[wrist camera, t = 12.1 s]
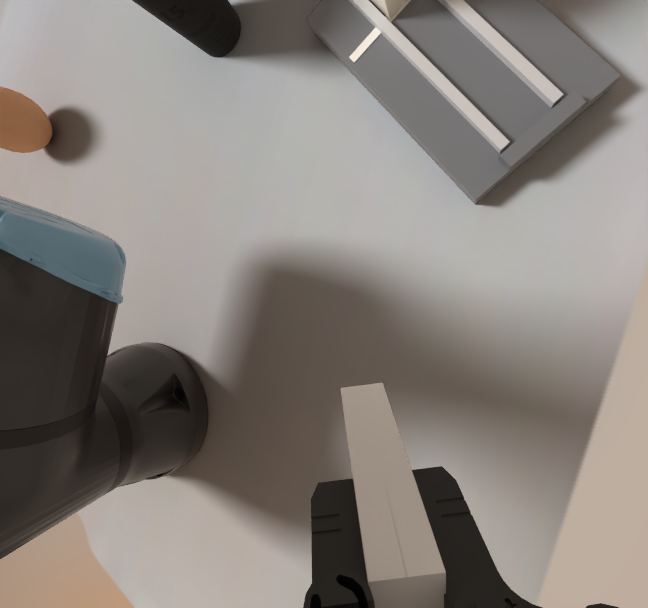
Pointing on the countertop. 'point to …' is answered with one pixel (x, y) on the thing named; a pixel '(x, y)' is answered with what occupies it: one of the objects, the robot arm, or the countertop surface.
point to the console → (468, 77)
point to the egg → (22, 123)
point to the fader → (389, 6)
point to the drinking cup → (199, 22)
